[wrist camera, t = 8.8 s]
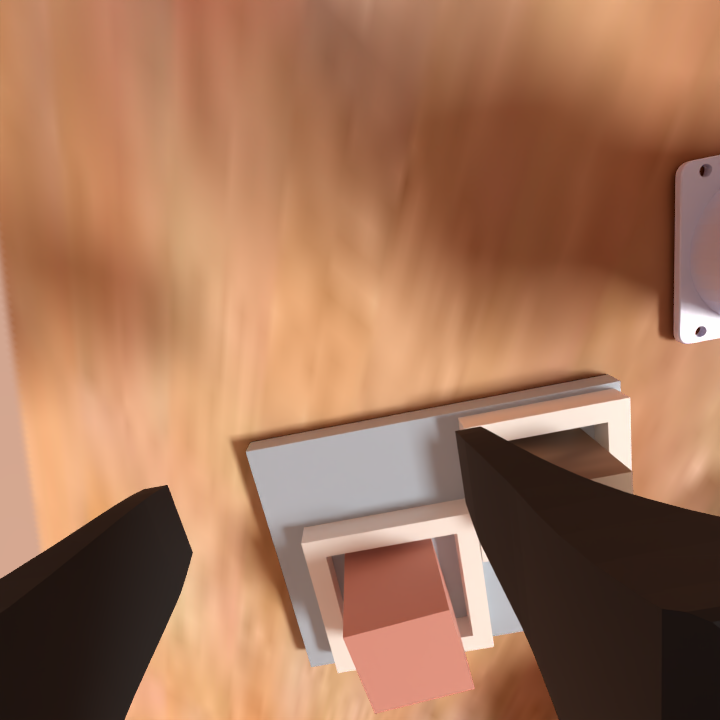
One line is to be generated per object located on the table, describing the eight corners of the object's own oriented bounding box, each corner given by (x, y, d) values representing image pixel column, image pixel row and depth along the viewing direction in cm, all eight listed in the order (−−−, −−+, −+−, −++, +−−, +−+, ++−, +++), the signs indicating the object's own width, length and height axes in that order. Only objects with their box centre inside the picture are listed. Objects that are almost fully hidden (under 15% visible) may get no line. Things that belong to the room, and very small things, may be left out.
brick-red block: (427, 527, 22) (449, 610, 17) (449, 594, 23) (474, 688, 18) (344, 551, 22) (342, 638, 17) (370, 615, 23) (375, 713, 19)
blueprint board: (607, 374, 21) (636, 390, 19) (615, 598, 25) (640, 632, 22) (250, 442, 21) (239, 464, 19) (312, 650, 25) (309, 688, 23)
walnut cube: (579, 427, 20) (632, 471, 17) (583, 498, 21) (634, 554, 18) (497, 442, 21) (530, 490, 17) (505, 512, 22) (538, 571, 18)
